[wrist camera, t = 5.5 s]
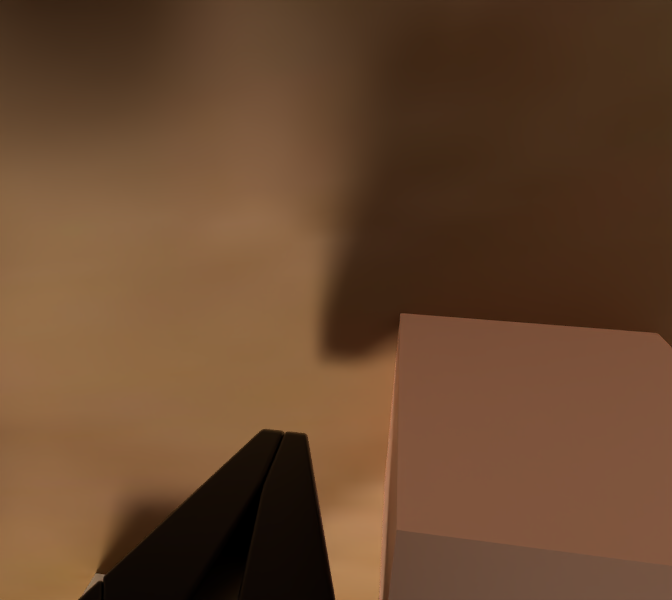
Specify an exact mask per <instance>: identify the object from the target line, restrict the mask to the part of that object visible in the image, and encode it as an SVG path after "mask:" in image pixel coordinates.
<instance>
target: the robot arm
mask: <svg viewBox="0 0 672 600" xmlns="http://www.w3.org/2000/svg"><path fill="white" fill-rule="evenodd" d="M78 600H335V595H334V589H333V583H332V578H331V572H330V566H329V560H328V554H327V548H326V542H325V536H324V530H323V524H322V518H321V513H320V507H319V501H318V495H317V489H316V483H315V477H314V471H313V465H312V459H311V453H310V448H309V442H308V437H307V435H306V434H305V433H298V432H286V433H284V432H283V431H279V430H270V429H263V430H261V431H260V432H259V433H258V434H257V435H255V436H254V437H253V438H252V439H251V440H250V441H249V442H248V443H247V444H246V445H245V446H244V447H243V448H241V449H240V450H239V451H238V452H237V453H236V454H235V455H234V456H233V457H232V458H231V459H230V460H229V461H227V462H226V463H225V464H224V465H223V466H222V467H221V468H220V469H219V470H218V471H217V472H216V473H214V474H213V475H212V476H211V477H210V478H209V479H208V480H207V481H206V482H205V483H204V484H203V485H202V486H200V487H199V488H198V489H197V490H196V491H195V492H194V493H193V494H192V495H191V496H190V497H189V498H188V499H186V500H185V501H184V502H183V503H182V504H181V505H180V506H179V507H178V508H177V509H176V510H175V511H174V512H172V513H171V514H170V515H169V516H168V517H167V518H166V519H165V520H164V521H163V522H162V523H161V524H159V525H158V526H157V527H156V528H155V529H154V530H153V531H152V532H151V533H150V534H149V535H148V536H147V537H145V538H144V539H143V540H142V541H141V542H140V543H139V544H138V545H137V546H136V547H135V548H134V549H133V550H131V551H130V552H129V553H128V554H127V555H126V556H125V557H124V558H123V559H122V560H121V561H120V562H119V563H117V564H116V565H115V566H114V567H113V568H112V569H111V570H110V571H109V572H108V573H107V574H106V575H105V576H104V577H103V581H98V582H97V583H96V584H94V585H93V586H92V587H91V588H90V589H89V590H88V591H87V592H86V593H85V594H84V595H83V596H82V597H80V598H79V599H78Z"/></svg>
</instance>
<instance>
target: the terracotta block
mask: <svg viewBox="0 0 672 600" xmlns="http://www.w3.org/2000/svg"><path fill="white" fill-rule="evenodd" d="M379 600H672V347H671V346H670V345H669V344H668V343H667V342H666V341H665V340H664V339H663V338H662V337H661V336H660V335H659V334H658V333H650V332H637V331H624V330H612V329H599V328H586V327H573V326H560V325H547V324H534V323H521V322H509V321H496V320H483V319H470V318H457V317H444V316H431V315H418V314H405V313H400V321H399V332H398V343H397V354H396V365H395V376H394V386H393V397H392V408H391V419H390V430H389V441H388V452H387V462H386V473H385V485H384V506H383V527H382V548H381V569H380V590H379Z"/></svg>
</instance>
